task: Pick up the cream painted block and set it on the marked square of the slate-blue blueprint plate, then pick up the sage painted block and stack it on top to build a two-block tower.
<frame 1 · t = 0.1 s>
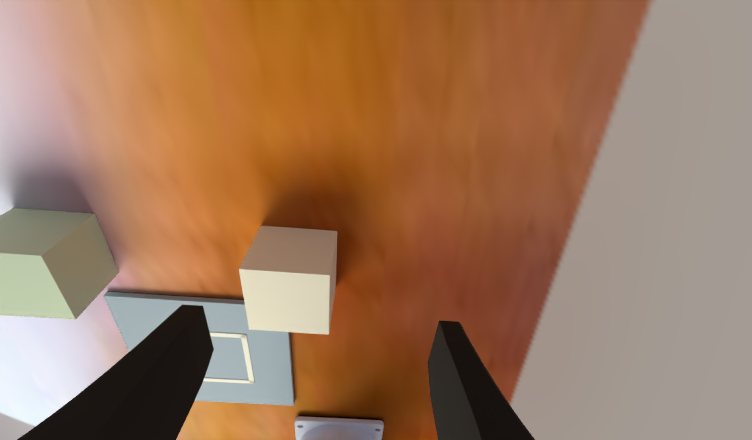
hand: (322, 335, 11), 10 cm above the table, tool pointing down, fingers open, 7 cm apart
sage block: (70, 241, 22), on the table
blueprint plate: (212, 353, 27), on the table
cream block: (300, 256, 22), on the table
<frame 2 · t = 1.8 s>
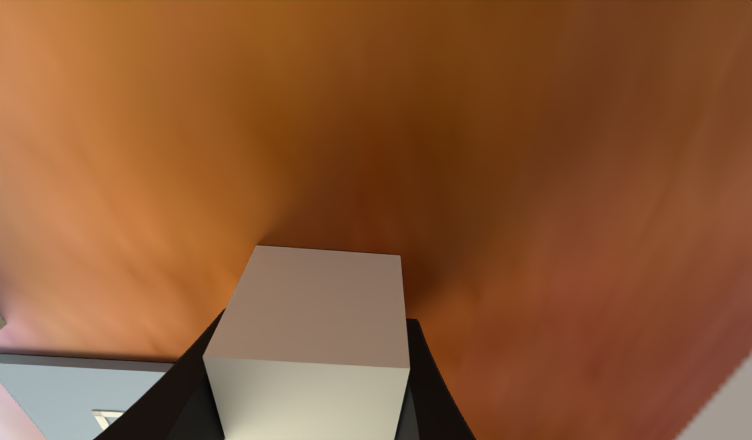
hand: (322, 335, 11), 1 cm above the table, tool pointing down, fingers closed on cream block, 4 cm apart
blueprint plate: (181, 438, 17), on the table
cream block: (327, 301, 12), on the table, touching gripper
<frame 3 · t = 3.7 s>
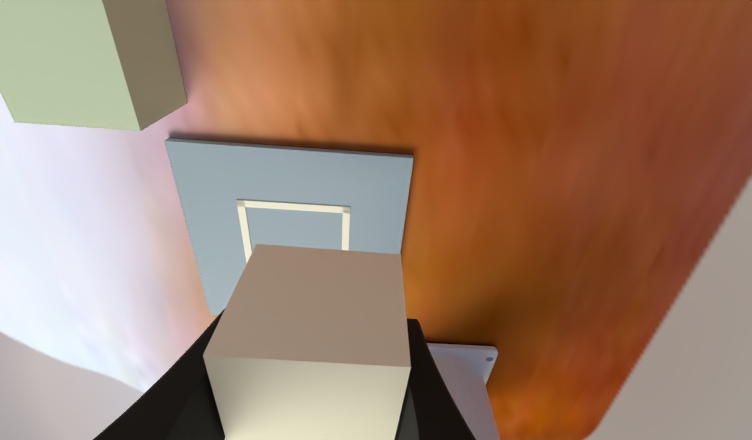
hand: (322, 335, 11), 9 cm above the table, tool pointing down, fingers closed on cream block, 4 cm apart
sage block: (123, 45, 15), on the table
blueprint plate: (297, 243, 21), on the table
cream block: (328, 300, 12), point 8 cm above the table, touching gripper
when the fingers open (3 cm above the table, at t = 5.7 s): cream block drops 1 cm, resting on blueprint plate.
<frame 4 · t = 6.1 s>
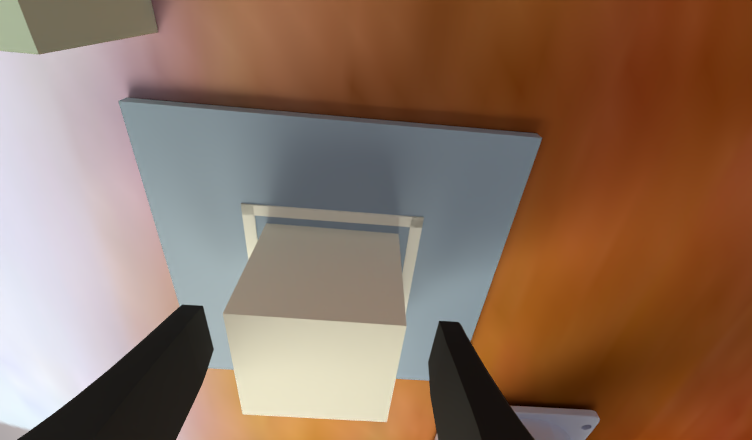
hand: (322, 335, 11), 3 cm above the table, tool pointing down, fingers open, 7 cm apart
blueprint plate: (332, 271, 14), on the table
cream block: (331, 278, 13), resting on blueprint plate
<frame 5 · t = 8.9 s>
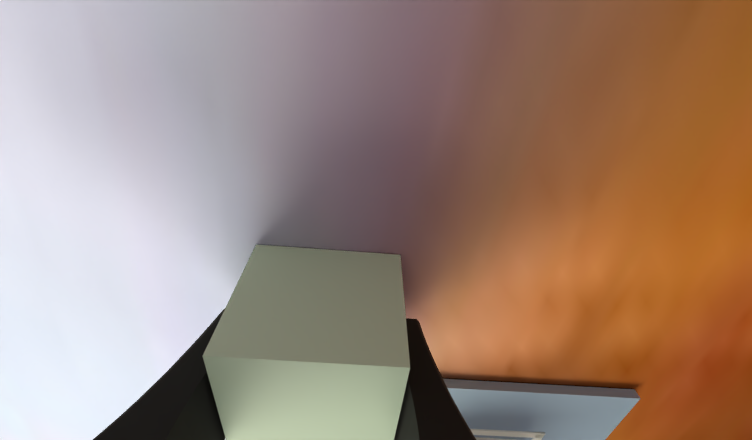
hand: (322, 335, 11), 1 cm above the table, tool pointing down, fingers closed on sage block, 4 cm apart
sage block: (327, 301, 12), on the table, touching gripper
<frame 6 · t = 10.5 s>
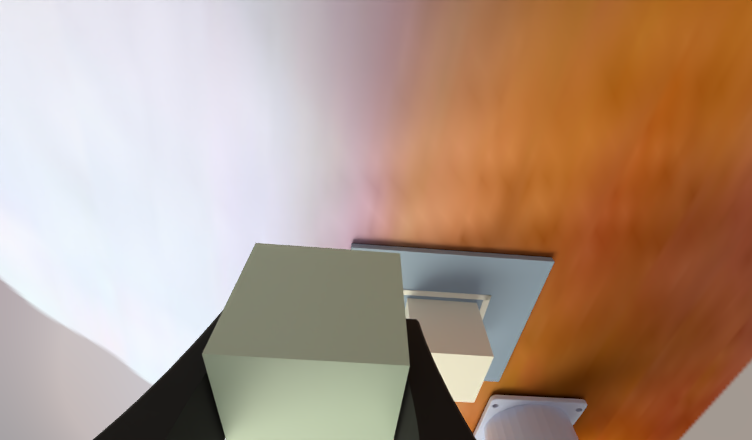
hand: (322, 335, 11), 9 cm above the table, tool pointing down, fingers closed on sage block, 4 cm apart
sage block: (327, 299, 12), point 8 cm above the table, touching gripper
blueprint plate: (435, 319, 24), on the table
cream block: (435, 324, 24), resting on blueprint plate
when the fingers open (7 cm above the table, at t = 12.0 s): sage block drops 1 cm, resting on cream block.
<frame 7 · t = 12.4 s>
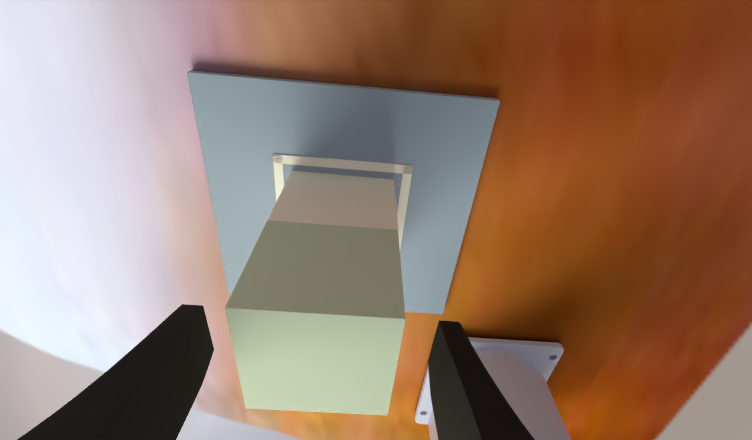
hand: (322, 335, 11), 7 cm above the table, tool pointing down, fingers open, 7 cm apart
sage block: (331, 274, 13), point 4 cm above the table, touching cream block
blueprint plate: (342, 213, 17), on the table
cream block: (341, 217, 17), resting on blueprint plate, touching sage block
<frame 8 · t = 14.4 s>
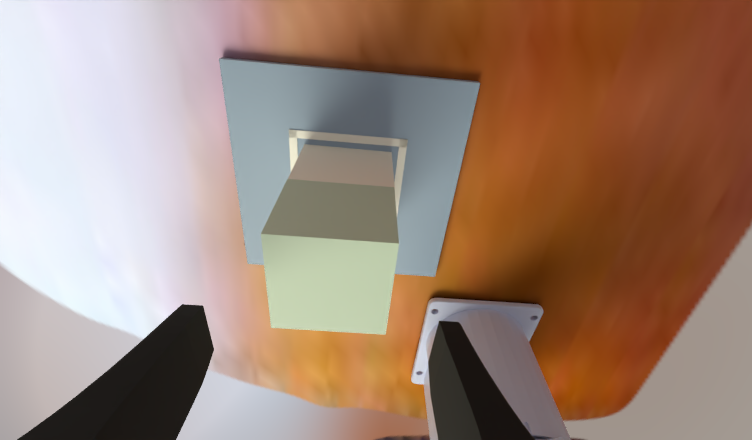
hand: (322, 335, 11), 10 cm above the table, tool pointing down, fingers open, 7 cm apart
sage block: (339, 227, 16), point 4 cm above the table, touching cream block
blueprint plate: (346, 183, 20), on the table
cream block: (346, 186, 20), resting on blueprint plate, touching sage block
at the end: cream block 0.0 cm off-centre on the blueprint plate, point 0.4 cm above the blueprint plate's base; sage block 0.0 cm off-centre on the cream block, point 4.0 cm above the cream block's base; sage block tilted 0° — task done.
